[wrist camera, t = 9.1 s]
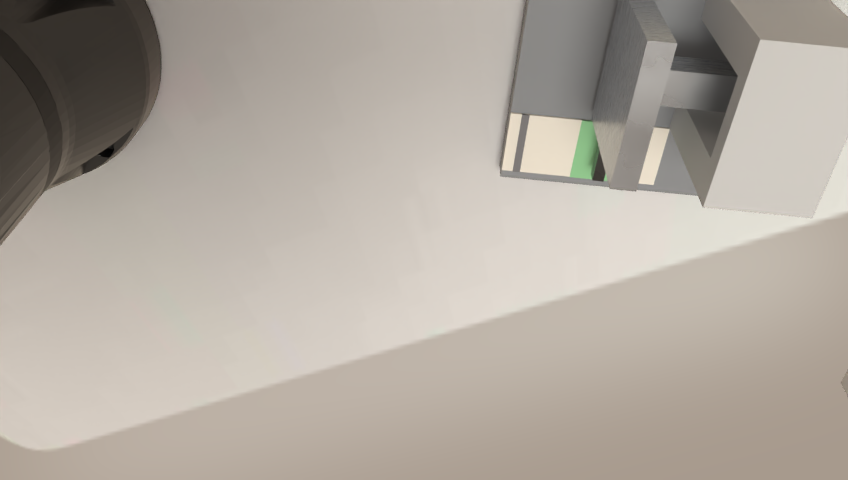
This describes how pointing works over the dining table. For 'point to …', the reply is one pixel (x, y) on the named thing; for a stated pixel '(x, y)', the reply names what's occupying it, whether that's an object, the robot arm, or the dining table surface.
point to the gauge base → (687, 128)
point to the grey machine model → (647, 90)
